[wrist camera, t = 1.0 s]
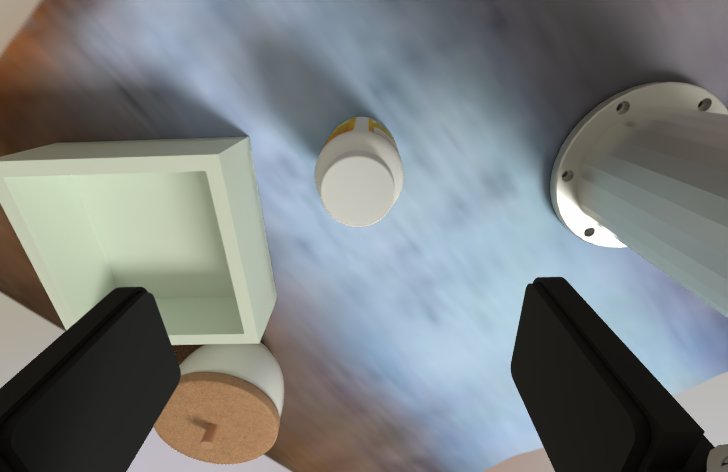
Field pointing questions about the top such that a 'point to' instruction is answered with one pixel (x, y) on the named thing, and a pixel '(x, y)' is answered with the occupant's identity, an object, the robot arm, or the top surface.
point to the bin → (148, 230)
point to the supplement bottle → (359, 172)
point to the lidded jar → (225, 404)
